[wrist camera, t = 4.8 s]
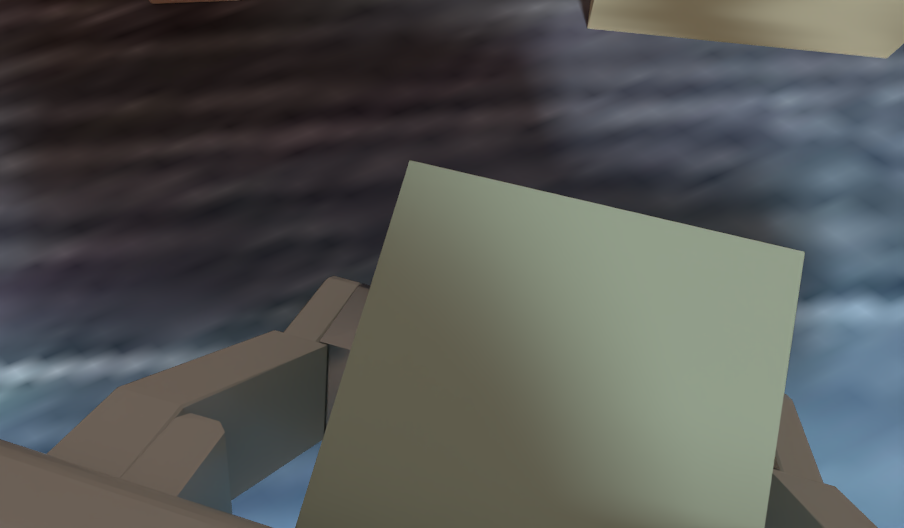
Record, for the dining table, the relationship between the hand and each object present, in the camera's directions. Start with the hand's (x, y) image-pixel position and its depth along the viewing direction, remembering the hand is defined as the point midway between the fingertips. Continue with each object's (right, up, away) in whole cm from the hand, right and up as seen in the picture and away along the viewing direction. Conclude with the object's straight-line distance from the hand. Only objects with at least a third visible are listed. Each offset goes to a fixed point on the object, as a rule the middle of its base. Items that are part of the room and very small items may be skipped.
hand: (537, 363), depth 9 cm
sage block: (0, -2, +5) cm, 5 cm away
